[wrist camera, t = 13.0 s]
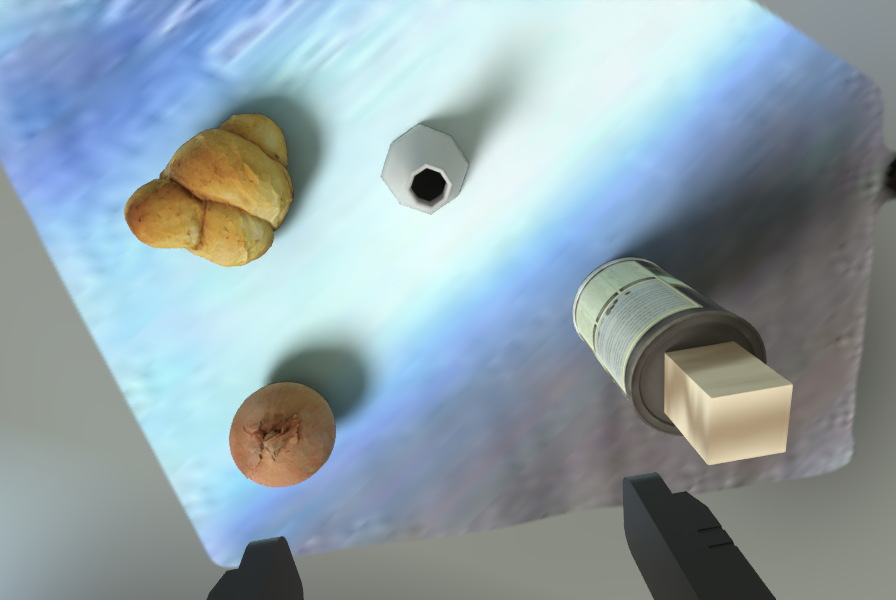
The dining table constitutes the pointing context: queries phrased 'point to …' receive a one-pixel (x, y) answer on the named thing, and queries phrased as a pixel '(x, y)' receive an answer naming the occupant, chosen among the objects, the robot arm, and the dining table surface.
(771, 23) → the dining table surface
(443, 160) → the flask
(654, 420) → the coffee can
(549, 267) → the dining table surface
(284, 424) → the onion
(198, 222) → the bread roll
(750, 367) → the maple block
